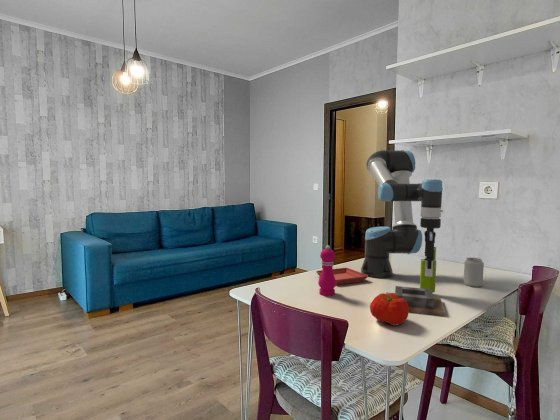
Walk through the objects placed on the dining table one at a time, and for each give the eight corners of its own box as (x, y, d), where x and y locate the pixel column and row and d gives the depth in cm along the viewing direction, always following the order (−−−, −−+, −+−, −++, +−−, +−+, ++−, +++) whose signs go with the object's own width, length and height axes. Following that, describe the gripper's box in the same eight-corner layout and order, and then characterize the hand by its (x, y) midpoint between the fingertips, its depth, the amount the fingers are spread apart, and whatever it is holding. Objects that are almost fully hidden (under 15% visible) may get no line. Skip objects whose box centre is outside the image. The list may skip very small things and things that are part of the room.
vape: (432, 293, 143) (435, 243, 142) (418, 289, 148) (420, 241, 146) (436, 291, 146) (438, 242, 144) (422, 287, 150) (424, 240, 148)
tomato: (365, 314, 124) (365, 290, 124) (400, 314, 125) (401, 290, 124) (375, 329, 112) (376, 302, 111) (415, 329, 112) (416, 302, 111)
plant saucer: (315, 277, 173) (315, 270, 173) (346, 273, 181) (346, 267, 181) (335, 287, 157) (335, 279, 157) (369, 282, 164) (369, 275, 164)
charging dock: (384, 309, 129) (384, 295, 129) (386, 295, 144) (386, 283, 144) (445, 316, 123) (445, 302, 122) (440, 301, 138) (440, 288, 137)
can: (466, 281, 165) (468, 256, 164) (484, 285, 160) (486, 258, 159) (461, 285, 160) (462, 258, 159) (479, 288, 155) (480, 261, 154)
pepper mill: (324, 297, 142) (325, 247, 140) (314, 292, 148) (315, 244, 147) (339, 294, 145) (340, 246, 144) (329, 290, 152) (329, 243, 150)
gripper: (443, 220, 134) (440, 281, 137) (438, 215, 151) (436, 269, 154) (421, 219, 137) (419, 279, 139) (419, 215, 154) (417, 268, 156)
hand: (428, 274), depth 146 cm, fingers closed on vape, 5 cm apart
